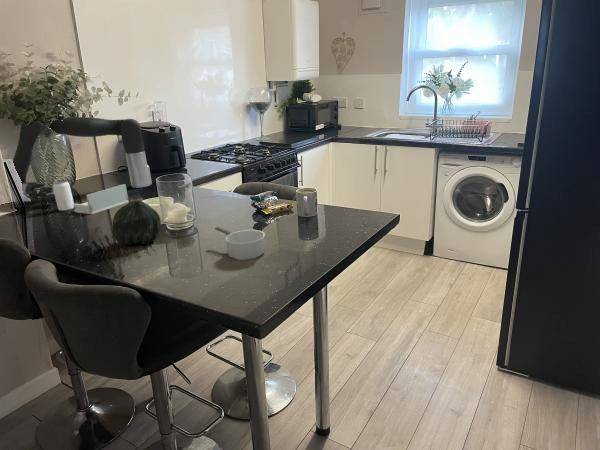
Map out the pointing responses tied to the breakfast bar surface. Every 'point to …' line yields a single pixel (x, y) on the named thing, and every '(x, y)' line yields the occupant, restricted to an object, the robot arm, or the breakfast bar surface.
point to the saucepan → (244, 243)
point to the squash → (136, 223)
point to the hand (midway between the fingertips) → (55, 192)
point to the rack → (103, 200)
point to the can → (63, 195)
